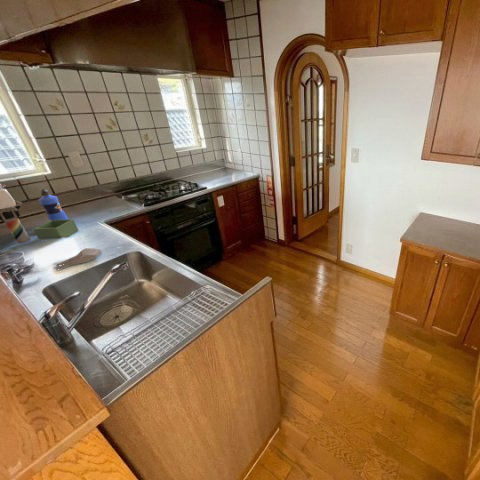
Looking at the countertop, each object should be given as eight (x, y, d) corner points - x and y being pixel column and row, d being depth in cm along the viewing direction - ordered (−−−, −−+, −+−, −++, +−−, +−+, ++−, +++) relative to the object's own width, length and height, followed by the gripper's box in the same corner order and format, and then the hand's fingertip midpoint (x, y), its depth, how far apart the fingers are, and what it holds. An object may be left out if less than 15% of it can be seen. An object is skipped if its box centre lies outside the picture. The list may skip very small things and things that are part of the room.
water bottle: (50, 227, 183) (30, 192, 171) (55, 221, 191) (37, 188, 179) (66, 224, 187) (48, 190, 175) (71, 219, 194) (54, 186, 182)
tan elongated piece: (59, 267, 142) (53, 261, 139) (101, 249, 152) (96, 243, 149) (59, 275, 135) (53, 268, 133) (104, 256, 146) (98, 249, 143)
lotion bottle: (16, 241, 157) (-3, 210, 147) (29, 238, 161) (11, 207, 152) (18, 244, 154) (-1, 213, 145) (31, 240, 158) (13, 210, 149)
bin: (62, 240, 165) (56, 228, 161) (40, 241, 165) (33, 229, 161) (78, 230, 177) (72, 219, 173) (57, 231, 177) (51, 220, 173)
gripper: (13, 183, 150) (29, 213, 159) (-33, 191, 138) (-13, 222, 146) (16, 186, 146) (32, 215, 155) (-32, 193, 134) (-11, 225, 142)
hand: (10, 218), depth 150 cm, fingers closed on lotion bottle, 5 cm apart
